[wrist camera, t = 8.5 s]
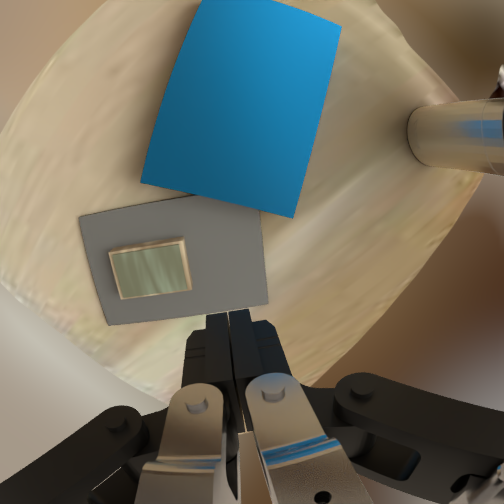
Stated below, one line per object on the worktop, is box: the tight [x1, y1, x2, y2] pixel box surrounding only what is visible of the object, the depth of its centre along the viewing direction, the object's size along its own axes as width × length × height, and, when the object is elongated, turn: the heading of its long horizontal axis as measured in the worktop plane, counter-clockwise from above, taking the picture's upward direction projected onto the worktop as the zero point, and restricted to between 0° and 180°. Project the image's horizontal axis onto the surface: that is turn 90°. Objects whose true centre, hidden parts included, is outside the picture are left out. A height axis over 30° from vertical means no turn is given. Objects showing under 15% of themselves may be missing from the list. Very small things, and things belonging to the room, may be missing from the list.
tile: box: [109, 236, 193, 300], centre depth 33 cm, size 2×6×9 cm
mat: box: [79, 195, 268, 326], centre depth 35 cm, size 22×15×1 cm
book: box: [140, 0, 342, 218], centre depth 28 cm, size 17×4×25 cm
